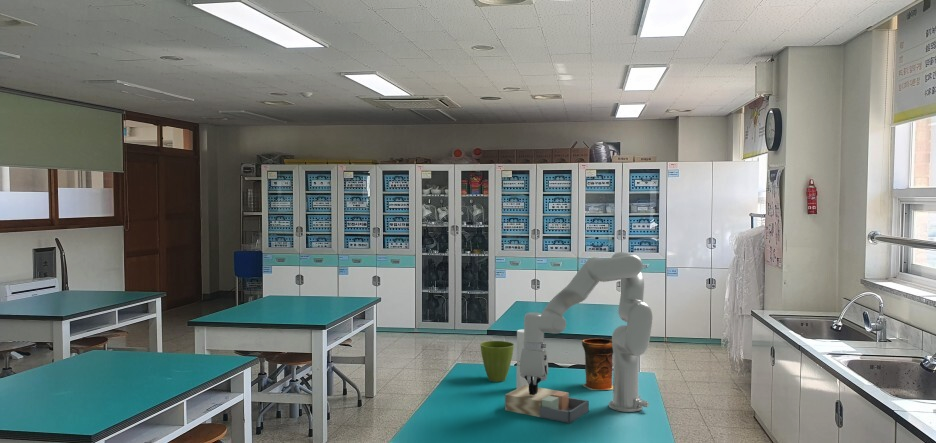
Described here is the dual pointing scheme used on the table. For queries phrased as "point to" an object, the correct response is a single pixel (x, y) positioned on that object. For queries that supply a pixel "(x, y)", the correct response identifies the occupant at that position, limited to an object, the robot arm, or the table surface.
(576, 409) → the box
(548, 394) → the striped wooden block
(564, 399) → the salmon rectangular block
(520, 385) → the cylindrical container
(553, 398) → the pale green block
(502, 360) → the flower pot
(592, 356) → the vessel
